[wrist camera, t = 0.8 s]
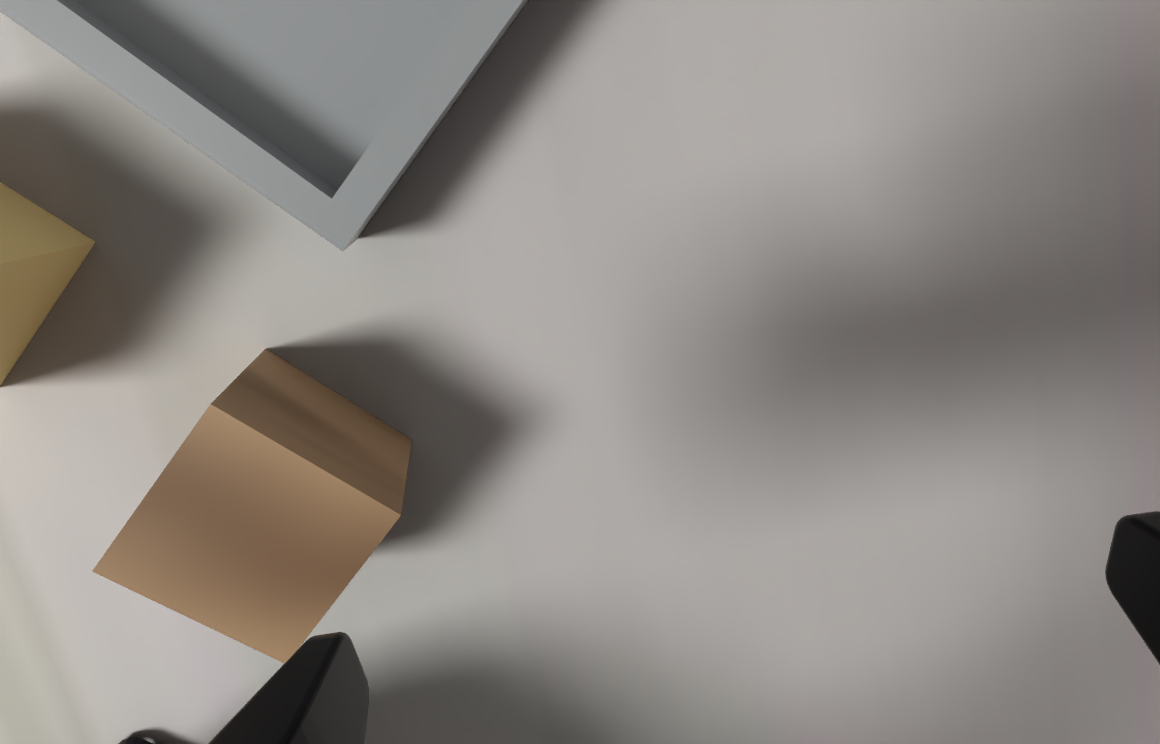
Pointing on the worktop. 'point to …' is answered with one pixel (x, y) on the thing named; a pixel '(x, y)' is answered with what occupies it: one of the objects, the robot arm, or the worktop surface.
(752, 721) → the worktop surface
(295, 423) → the walnut block
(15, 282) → the mustard block
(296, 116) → the tray
